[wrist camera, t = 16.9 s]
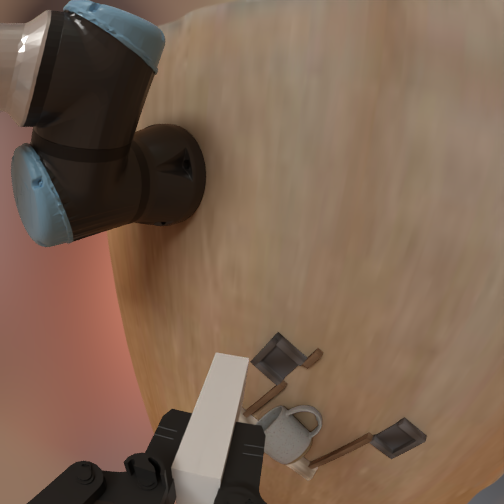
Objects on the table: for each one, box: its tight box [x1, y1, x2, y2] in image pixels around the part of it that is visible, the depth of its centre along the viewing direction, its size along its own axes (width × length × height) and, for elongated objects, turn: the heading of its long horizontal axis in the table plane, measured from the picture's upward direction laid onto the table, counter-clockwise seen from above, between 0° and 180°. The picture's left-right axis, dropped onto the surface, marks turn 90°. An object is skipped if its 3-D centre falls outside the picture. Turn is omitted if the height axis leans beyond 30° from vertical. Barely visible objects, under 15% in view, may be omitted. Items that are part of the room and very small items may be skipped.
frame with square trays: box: [239, 332, 427, 480], centre depth 43 cm, size 28×23×3 cm
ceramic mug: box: [256, 405, 322, 465], centre depth 43 cm, size 11×8×8 cm
